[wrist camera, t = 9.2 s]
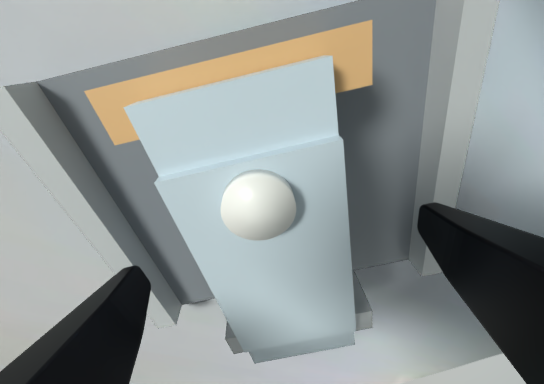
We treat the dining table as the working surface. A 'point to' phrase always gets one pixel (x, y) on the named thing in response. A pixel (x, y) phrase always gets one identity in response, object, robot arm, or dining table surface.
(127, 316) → the robot arm
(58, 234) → the dining table surface
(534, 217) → the dining table surface
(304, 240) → the light blue knobbed block
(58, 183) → the mounting plate
